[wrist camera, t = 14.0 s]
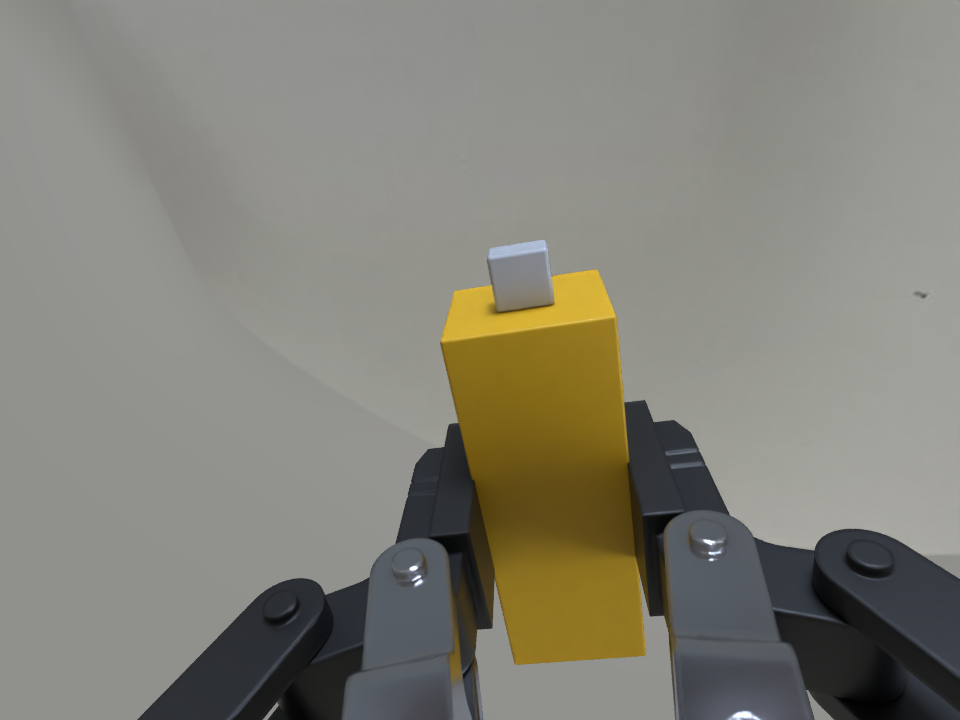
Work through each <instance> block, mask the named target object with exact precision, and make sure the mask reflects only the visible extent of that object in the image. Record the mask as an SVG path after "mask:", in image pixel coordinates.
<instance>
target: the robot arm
mask: <svg viewBox="0 0 960 720" xmlns="http://www.w3.org/2000/svg"><path fill="white" fill-rule="evenodd" d="M624 406H625V418H626V429H627V441H628V452H629V463H627V464H628V476H629V487H630V499H631V510H632V522H633V533H634V545H635V556H636V561H637V565H638V569H639V573H640V577H641V582H642V586H643V590H644V594H645V598H646V602H647V606H648V610H649V615H650V616H664V617H665V620H666V624H667V628H668V632H669V646H670V660H671V673H672V686H673V698H674V711H675V720H815V719H814V715H813V712H812V709H811V705H810V701H809V698H808V694H807V691H806V690H809V692H810V694H811V695H812V697H813V698H814V699H815V701H816V702H817V703H818V704H819V705H820V706H821V707H822V708H823V709H824V710H825V711H826V712H827V713H828V714H829V715H830V716H831V717H832V718H833V719H834V720H960V579H959V578H957V577H956V576H954V575H952V574H951V573H949V572H948V571H946V570H944V569H943V568H941V567H940V566H938V565H936V564H935V563H933V562H932V561H930V560H928V559H927V558H925V557H924V556H922V555H921V554H919V553H917V552H916V551H914V550H913V549H911V548H909V547H908V546H906V545H905V544H903V543H901V542H899V541H898V540H896V539H894V538H891V537H889V536H887V535H884V534H881V533H878V532H873V531H869V530H862V529H842V530H837V531H833V532H831V533H828V534H826V535H825V536H823V537H822V538H821V539H820V540H819V541H818V543H817V544H816V547H815V551H813V550H806V549H799V548H792V547H785V546H779V545H774V544H771V543H767V542H764V541H762V540H759V539H757V538H755V537H753V535H752V533H751V532H750V530H749V529H748V528H747V527H746V526H745V525H744V524H743V523H742V522H740V521H739V520H737V519H736V518H734V517H732V516H730V514H729V512H728V510H727V508H726V506H725V504H724V502H723V500H722V497H721V495H720V493H719V491H718V489H717V487H716V485H715V483H714V481H713V479H712V476H711V474H710V472H709V470H708V468H707V466H705V462H704V460H703V457H702V455H701V453H700V452H699V450H698V447H697V445H696V443H695V441H694V438H693V436H692V434H691V433H690V432H689V431H688V430H686V429H685V428H684V427H682V426H681V425H680V424H679V423H677V422H676V421H675V420H671V421H662V422H653V419H652V417H651V414H650V412H649V409H648V406H647V404H646V402H645V400H642V401H633V402H625V403H624ZM411 482H412V484H410V488H409V492H408V498H407V500H406V504H405V508H404V512H403V516H402V520H401V524H400V528H399V532H398V536H397V540H396V544H395V545H393V546H391V547H390V548H388V549H387V550H386V551H384V552H383V553H382V554H381V555H380V556H379V557H378V559H377V560H376V561H375V563H374V564H373V566H372V569H371V572H370V577H369V578H367V579H366V580H364V581H362V582H360V583H357V584H355V585H352V586H349V587H346V588H344V589H341V590H338V591H335V592H333V593H330V594H327V595H325V594H324V592H323V589H322V588H321V586H320V585H319V584H318V583H317V582H315V581H313V580H310V579H304V578H299V579H291V580H287V581H284V582H281V583H278V584H277V585H274V586H272V587H271V588H269V589H267V590H266V591H264V592H263V593H262V594H260V595H259V596H258V597H257V598H256V599H255V600H254V601H253V602H252V603H251V604H250V605H249V606H248V607H247V608H246V609H245V611H243V612H242V613H241V614H240V615H239V616H238V617H237V618H236V620H234V622H233V623H231V625H230V626H229V627H228V628H227V629H226V630H225V631H224V632H223V633H222V634H221V635H220V636H219V637H218V638H217V639H216V640H215V641H214V642H213V643H212V644H211V645H210V646H209V647H208V648H207V649H206V650H205V651H204V652H203V653H202V654H201V655H200V656H199V657H198V658H197V659H196V660H195V661H194V663H192V664H191V665H190V666H189V668H188V669H186V671H185V672H184V673H183V674H182V675H181V676H180V677H179V678H178V679H177V680H176V681H175V682H174V683H173V684H172V685H171V686H170V687H169V688H168V689H167V690H166V691H165V692H164V693H163V694H162V695H161V696H160V697H159V698H158V699H157V700H156V701H155V702H154V703H153V704H152V705H151V706H150V707H149V708H148V709H147V710H146V711H145V712H144V714H142V716H141V717H140V718H139V719H138V720H263V719H264V717H265V716H266V715H267V714H268V712H269V711H270V710H271V709H272V707H273V706H274V705H275V704H276V702H277V703H278V704H279V706H278V707H277V709H276V710H275V711H274V712H273V714H272V715H271V716H270V717H269V719H268V720H483V712H482V704H481V694H480V684H479V675H478V666H477V660H476V657H475V649H476V637H477V630H478V629H491V628H492V624H493V623H492V622H493V601H494V577H495V569H494V564H493V560H492V556H491V551H490V547H489V542H488V538H487V534H486V529H485V525H484V520H483V516H482V512H481V507H480V503H479V499H478V494H477V490H476V485H475V481H474V480H472V478H471V474H470V470H469V465H468V461H467V457H466V452H465V448H464V444H463V439H462V435H461V431H460V426H459V423H454V424H449V426H448V430H447V436H446V441H445V446H444V447H442V448H434V449H428V450H427V451H426V453H425V454H424V455H423V456H422V457H421V458H420V460H419V461H418V462H417V463H416V465H415V468H414V472H413V476H412V480H411Z"/></svg>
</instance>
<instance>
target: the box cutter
mask: <svg viewBox="0 0 960 720" xmlns="http://www.w3.org/2000/svg"><path fill="white" fill-rule="evenodd" d="M487 263H488V269H489V274H490V280H491V286H484V287H478V288H472V289H465V290H459V291H455V292H454V295H453V298H452V302H451V306H450V309H449V313H448V316H447V320H446V324H445V327H444V331H443V334H442V338H441V342H440V344H441V349H442V353H443V357H444V362H445V366H446V370H447V375H448V379H449V383H450V388H451V392H452V396H453V401H454V405H455V409H456V414H457V418H458V422H459V426H460V431H461V435H462V439H463V444H464V448H465V452H466V457H467V461H468V465H469V470H470V474H471V478H472V480H474V481H475V485H476V490H477V494H478V499H479V503H480V507H481V512H482V516H483V520H484V525H485V529H486V534H487V538H488V542H489V547H490V551H491V556H492V560H493V564H494V569H495V577H494V578H495V582H496V586H497V591H498V595H499V599H500V603H501V608H502V611H503V616H504V621H505V625H506V629H507V633H508V637H509V642H510V646H511V651H512V655H513V660H514V663H515V664H516V665H521V664H535V663H550V662H564V661H578V660H593V659H605V658H606V659H607V658H620V657H636V656H644V655H645V654H646V648H645V637H644V625H643V614H642V602H641V591H640V579H639V569H638V565H637V561H636V556H635V545H634V533H633V522H632V510H631V499H630V487H629V476H628V464H627V463H629V452H628V441H627V429H626V418H625V406H624V394H623V383H622V371H621V360H620V348H619V337H618V325H617V317H616V314H615V312H614V309H613V307H612V304H611V302H610V299H609V297H608V294H607V292H606V289H605V287H604V284H603V282H602V279H601V277H600V274H599V272H598V270H596V269H595V270H588V271H582V272H575V273H569V274H562V275H556V276H551V270H550V262H549V255H548V248H547V243H546V241H545V240H538V241H532V242H526V243H520V244H513V245H507V246H501V247H495V248H491V249H489V252H488V258H487Z"/></svg>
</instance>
